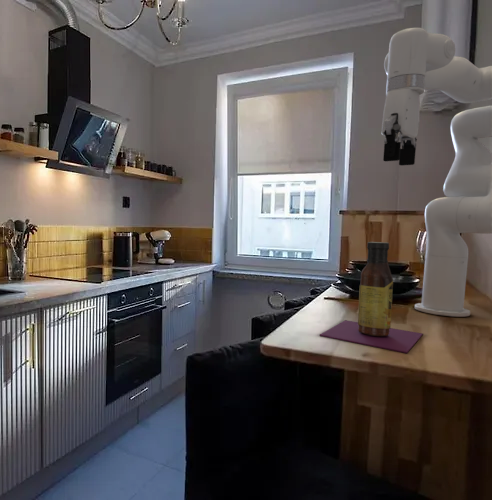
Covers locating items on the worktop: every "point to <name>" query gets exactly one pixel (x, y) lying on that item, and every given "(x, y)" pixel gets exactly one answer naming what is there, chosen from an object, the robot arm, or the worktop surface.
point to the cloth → (374, 337)
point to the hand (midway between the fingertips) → (399, 163)
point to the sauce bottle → (375, 292)
